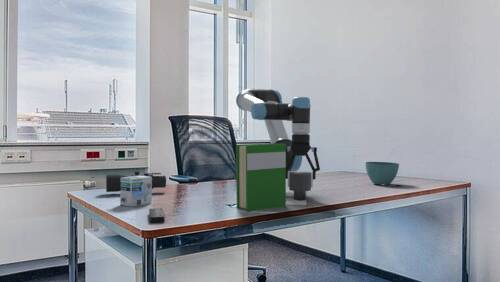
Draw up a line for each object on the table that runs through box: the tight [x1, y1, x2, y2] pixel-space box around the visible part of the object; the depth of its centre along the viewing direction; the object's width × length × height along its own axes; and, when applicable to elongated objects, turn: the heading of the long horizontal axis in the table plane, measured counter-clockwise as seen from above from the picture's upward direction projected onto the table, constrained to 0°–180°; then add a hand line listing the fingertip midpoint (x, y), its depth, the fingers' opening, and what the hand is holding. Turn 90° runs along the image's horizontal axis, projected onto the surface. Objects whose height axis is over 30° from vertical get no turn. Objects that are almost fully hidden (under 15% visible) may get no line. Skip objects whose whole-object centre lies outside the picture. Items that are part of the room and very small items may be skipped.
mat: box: [286, 197, 307, 206], centre depth 168 cm, size 12×16×1 cm
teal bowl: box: [365, 161, 400, 186], centre depth 230 cm, size 18×18×12 cm
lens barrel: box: [293, 191, 307, 201], centre depth 172 cm, size 5×5×8 cm
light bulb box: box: [119, 174, 153, 208], centre depth 158 cm, size 11×7×11 cm, turn 148°
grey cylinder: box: [288, 170, 312, 192], centre depth 172 cm, size 9×9×8 cm
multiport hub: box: [148, 207, 166, 224], centre depth 134 cm, size 4×14×2 cm, turn 15°
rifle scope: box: [105, 171, 167, 193], centre depth 186 cm, size 10×26×10 cm, turn 110°
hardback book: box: [235, 142, 287, 213], centre depth 153 cm, size 18×7×24 cm, turn 124°
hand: (300, 186), depth 172 cm, fingers closed on grey cylinder, 9 cm apart
